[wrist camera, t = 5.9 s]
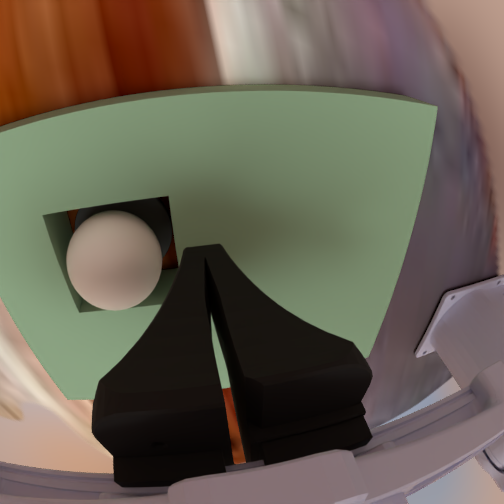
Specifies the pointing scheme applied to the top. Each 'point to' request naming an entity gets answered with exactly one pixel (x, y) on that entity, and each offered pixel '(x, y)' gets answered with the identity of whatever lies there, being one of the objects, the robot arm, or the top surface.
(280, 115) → the putting mat
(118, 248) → the ball
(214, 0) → the top surface
